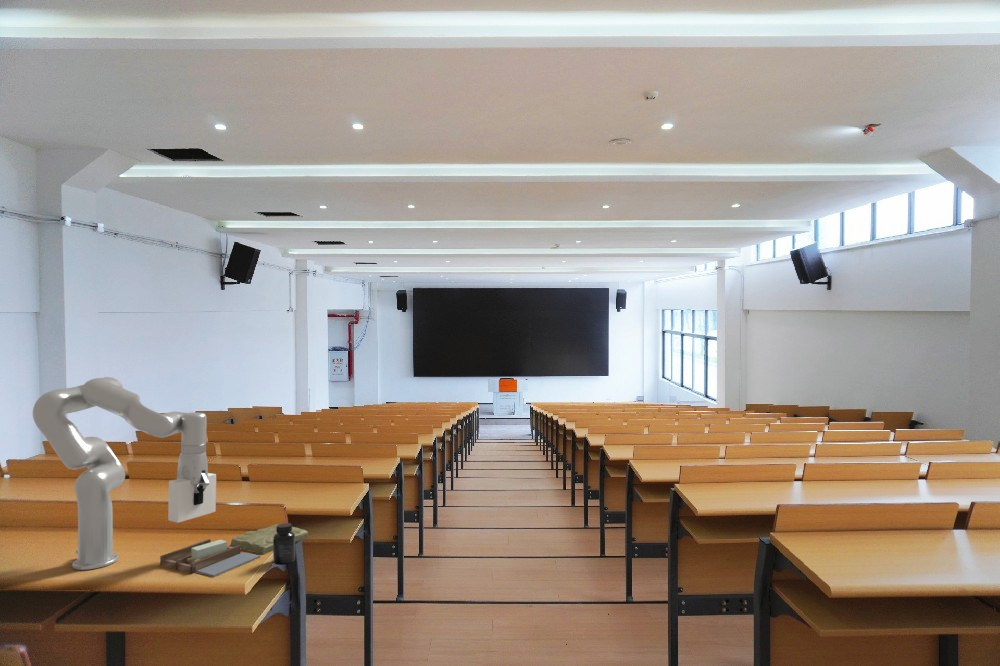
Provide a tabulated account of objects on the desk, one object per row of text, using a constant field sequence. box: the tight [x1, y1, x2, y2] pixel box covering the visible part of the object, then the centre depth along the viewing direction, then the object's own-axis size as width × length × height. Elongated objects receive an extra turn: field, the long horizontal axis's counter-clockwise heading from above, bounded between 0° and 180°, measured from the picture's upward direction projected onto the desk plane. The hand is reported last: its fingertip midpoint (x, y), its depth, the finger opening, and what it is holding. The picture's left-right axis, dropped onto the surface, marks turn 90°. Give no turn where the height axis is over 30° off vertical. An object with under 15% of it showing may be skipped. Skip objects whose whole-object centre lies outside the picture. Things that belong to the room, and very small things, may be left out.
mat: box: [196, 551, 261, 578], centre depth 193 cm, size 8×18×1 cm, turn 154°
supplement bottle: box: [272, 522, 296, 566], centre depth 196 cm, size 7×7×12 cm
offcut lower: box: [187, 555, 212, 565], centre depth 196 cm, size 4×12×3 cm, turn 155°
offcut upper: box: [191, 539, 228, 560], centre depth 196 cm, size 4×10×3 cm, turn 143°
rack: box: [159, 538, 241, 574], centre depth 197 cm, size 16×18×3 cm
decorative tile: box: [230, 523, 309, 555], centre depth 215 cm, size 19×20×4 cm
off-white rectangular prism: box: [167, 472, 217, 524], centre depth 199 cm, size 5×14×13 cm, turn 154°
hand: (192, 502), depth 199 cm, fingers closed on off-white rectangular prism, 4 cm apart
